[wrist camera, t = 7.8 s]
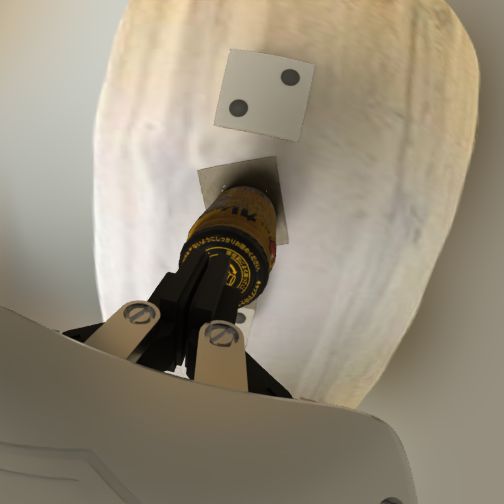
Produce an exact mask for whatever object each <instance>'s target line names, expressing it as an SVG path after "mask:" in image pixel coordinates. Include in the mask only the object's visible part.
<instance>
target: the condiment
mask: <svg viewBox="0 0 504 504" xmlns="http://www.w3.org/2000/svg"><path fill="white" fill-rule="evenodd" d="M197 172H198V176H199V181H200V185H201V191H202V194H203V199H204V204H205V208H206V211H205V212H204V213H203V214H202V215H201V216H200V217H199V218H198V220H197V221H196V222H195V224H194V225H193V226H192V228H191V229H190V231H189V234H188V238H187V242H186V243H184V246H183V248H182V250H181V253H180V260H179V268H180V266H181V265H182V263H183V262H184V260H185V259H186V257H187V256H188V254H189V253H190V251H191V250H192V248H197V249H202V250H206V254H209V255H210V258H209V263H210V261H211V259H212V257H213V255H214V256H218V254H219V253H220V254H225V255H230V256H231V262H230V267H229V273H228V278H227V284H226V285H228V286H233V287H237V288H242V293H241V298H240V303H239V308H238V309H240V308H242V307H244V306H246V305H249V304H250V303H252V302H253V301H254V300H255V299H256V298H257V297H258V296H259V295H260V294H261V293H262V292H263V290H264V288H265V287H266V285H267V282H268V278H269V273H270V271H271V270H272V267H273V265H274V263H275V258H276V245H283V244H288V236H287V229H286V223H285V216H284V209H283V202H282V196H281V189H280V183H279V177H278V171H277V165H276V159H275V157H268V158H261V159H255V160H249V161H243V162H238V163H232V164H227V165H222V166H217V167H212V168H207V169H202V170H198V171H197ZM224 185H225V187H224V188H223V186H224ZM222 189H223V191H222V192H221V190H222ZM266 190H267V192H266Z"/></svg>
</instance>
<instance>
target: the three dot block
mask: <svg viewBox="0 0 504 504" xmlns="http://www.w3.org/2000/svg"><path fill="white" fill-rule="evenodd" d="M256 300H257V298H256V299H255V300H254V301H253V302H252V303H250V304H249V305H246V306H244V307H242V308H240V309H238V313H237V318H236V323H235V325H236V326H237V327H238V328H240V330H241V331H242V332H243V335H244V344H245V347H246V344H247V340H248V336H249V332H250V328H251V324H252V321H253V317H254V313H255V308H256Z"/></svg>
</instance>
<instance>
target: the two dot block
mask: <svg viewBox="0 0 504 504" xmlns="http://www.w3.org/2000/svg"><path fill="white" fill-rule="evenodd" d="M314 69H315V64H312V63H308V62H304V61H300V60H295V59H291V58H286V57H281V56H276V55H270V54H265V53H258V52H252V51H245V50H236V49H230V53H229V57H228V61H227V65H226V69H225V73H224V78H223V82H222V87H221V91H220V96H219V100H218V105H217V110H216V115H215V120H214V126H219V127H223V128H227V129H233V130H239V131H244V132H250V133H255V134H260V135H265V136H270V137H274V138H279V139H283V140H288V141H292V142H299V138H300V134H301V129H302V125H303V120H304V116H305V111H306V107H307V102H308V97H309V93H310V88H311V83H312V79H313V74H314Z"/></svg>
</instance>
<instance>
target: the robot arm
mask: <svg viewBox="0 0 504 504" xmlns="http://www.w3.org/2000/svg"><path fill="white" fill-rule="evenodd" d="M209 258H210V255H209V254H206V250H202V249H197V248H192V250H191V251H190V253H189V254H188V256H187V257H186V259H185V260H184V262H183V263H182V265H181V266H180V268H179V269H178V271H177V272H176V273H171V272H167V273H166V275H165V276H164V278H163V279H162V280H161V282H160V283H159V285H158V286H157V288H156V289H155V291H154V292H153V293H152V295H151V296H150V298H149V299H148V301H139V300H138V301H131V302H128V303H126V304H125V305H123V306H122V307H121V308H120V309H119V310H118V311H117V312H116V313H114V314H113V315H112V316H111V317H110V318H109V319H108V320H107V321H106V322H104V323H99V324H95V325H91V326H86V327H82V328H78V329H73V330H68V331H66V332H63V333H62V334H61V333H60V331H58V330H53V329H50V328H48V327H46V326H44V325H41V324H40V323H38V322H36V321H34V320H31V319H29V318H27V317H25V316H23V315H21V314H19V313H17V312H15V311H13V310H10V309H8V308H6V307H2V306H0V504H418V503H417V496H416V490H415V486H414V481H413V477H412V472H411V468H410V465H409V461H408V458H407V455H406V453H405V450H404V447H403V445H402V442H401V440H400V438H399V437H398V435H397V434H396V432H395V431H394V430H393V428H392V427H391V426H390V425H388V424H387V423H386V422H384V421H382V420H381V419H379V418H377V417H375V416H372V415H370V414H367V413H364V412H361V411H359V410H355V409H351V408H347V407H343V406H337V405H332V404H326V403H320V402H316V401H312V400H309V399H305V398H302V397H301V398H300V400H298V399H294V398H292V396H291V394H290V393H289V392H288V391H287V390H286V389H285V388H284V387H283V386H282V385H281V384H280V383H279V382H277V381H276V380H275V379H274V378H273V377H272V376H271V375H270V374H269V373H268V372H267V371H266V370H265V369H263V368H262V367H261V366H260V365H259V364H258V363H257V362H256V361H255V360H254V359H253V358H252V357H251V356H250V355H249V354H248V353H247V352H246V351H245V344H244V335H243V332H242V331H241V330H240V328H238V327H237V326H236V325H235V323H236V318H237V313H238V308H239V303H240V298H241V293H242V288H237V287H233V286H228V285H226V284H227V278H228V273H229V267H230V262H231V256H230V255H225V254H220V253H219V254H218V256H214V255H213V257H212V259H211V261H210V263H209ZM185 355H186V357H185ZM184 358H185V367H187V370H186V374H187V376H188V377H189V378H190V379H187V378H183V377H179V376H175V375H172V374H168V373H165V372H164V371H171V372H174V371H175V368H176V366H177V365H179V366H181V365H182V363H183V361H184Z"/></svg>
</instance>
